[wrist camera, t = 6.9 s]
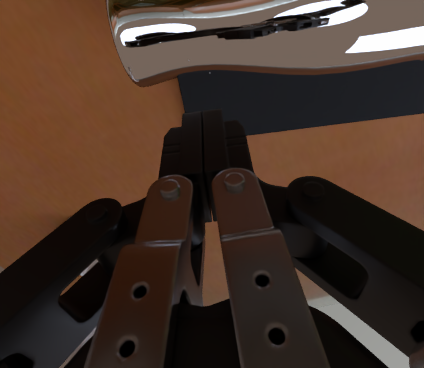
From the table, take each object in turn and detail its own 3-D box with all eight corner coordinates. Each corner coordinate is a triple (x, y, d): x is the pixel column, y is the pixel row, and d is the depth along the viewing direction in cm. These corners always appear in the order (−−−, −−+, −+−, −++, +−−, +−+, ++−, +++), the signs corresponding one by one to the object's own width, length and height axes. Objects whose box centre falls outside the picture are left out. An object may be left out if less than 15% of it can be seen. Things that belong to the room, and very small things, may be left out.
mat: (139, -109, 15) (138, -110, 14) (543, -180, 14) (550, -181, 13) (191, 140, 25) (191, 142, 24) (422, 110, 24) (425, 113, 23)
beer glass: (80, -75, 11) (509, -156, 10) (137, -33, 18) (402, -76, 16) (123, 105, 14) (458, 71, 12) (158, 87, 21) (385, 62, 19)
